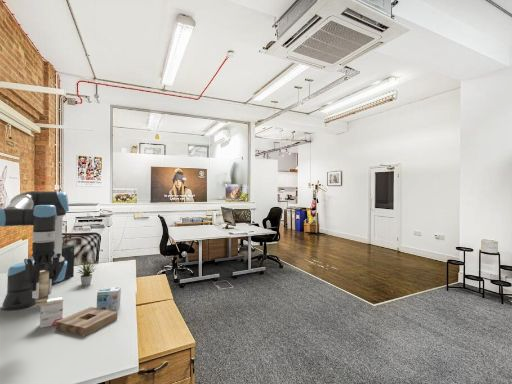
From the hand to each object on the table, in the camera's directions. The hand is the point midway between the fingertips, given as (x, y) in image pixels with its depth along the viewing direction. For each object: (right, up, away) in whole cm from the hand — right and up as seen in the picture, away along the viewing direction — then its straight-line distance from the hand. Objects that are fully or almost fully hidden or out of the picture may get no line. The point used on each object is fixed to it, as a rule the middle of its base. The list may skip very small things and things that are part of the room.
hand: (41, 295), depth 115 cm
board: (+9, -20, +16) cm, 27 cm away
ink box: (-8, -20, +15) cm, 26 cm away
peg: (0, -4, 0) cm, 4 cm away
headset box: (-54, -20, +80) cm, 99 cm away
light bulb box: (+10, -21, +34) cm, 41 cm away
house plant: (-26, -21, +74) cm, 81 cm away
